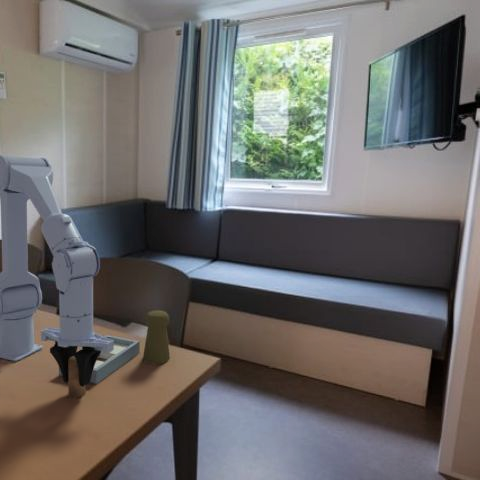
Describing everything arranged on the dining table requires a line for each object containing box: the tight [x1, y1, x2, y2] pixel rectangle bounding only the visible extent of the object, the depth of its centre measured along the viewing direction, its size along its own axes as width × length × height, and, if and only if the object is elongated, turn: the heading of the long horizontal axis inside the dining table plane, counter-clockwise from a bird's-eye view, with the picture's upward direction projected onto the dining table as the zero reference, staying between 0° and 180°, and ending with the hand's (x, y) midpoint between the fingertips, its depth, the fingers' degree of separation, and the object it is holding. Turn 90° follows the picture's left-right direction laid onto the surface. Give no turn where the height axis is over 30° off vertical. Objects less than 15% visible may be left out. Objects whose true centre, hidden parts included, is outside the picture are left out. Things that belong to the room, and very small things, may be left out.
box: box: [58, 334, 141, 385], centre depth 91 cm, size 9×16×3 cm, turn 162°
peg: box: [67, 356, 87, 399], centre depth 78 cm, size 3×3×7 cm
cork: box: [142, 309, 171, 365], centre depth 94 cm, size 6×6×11 cm
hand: (77, 381), depth 78 cm, fingers closed on peg, 3 cm apart
